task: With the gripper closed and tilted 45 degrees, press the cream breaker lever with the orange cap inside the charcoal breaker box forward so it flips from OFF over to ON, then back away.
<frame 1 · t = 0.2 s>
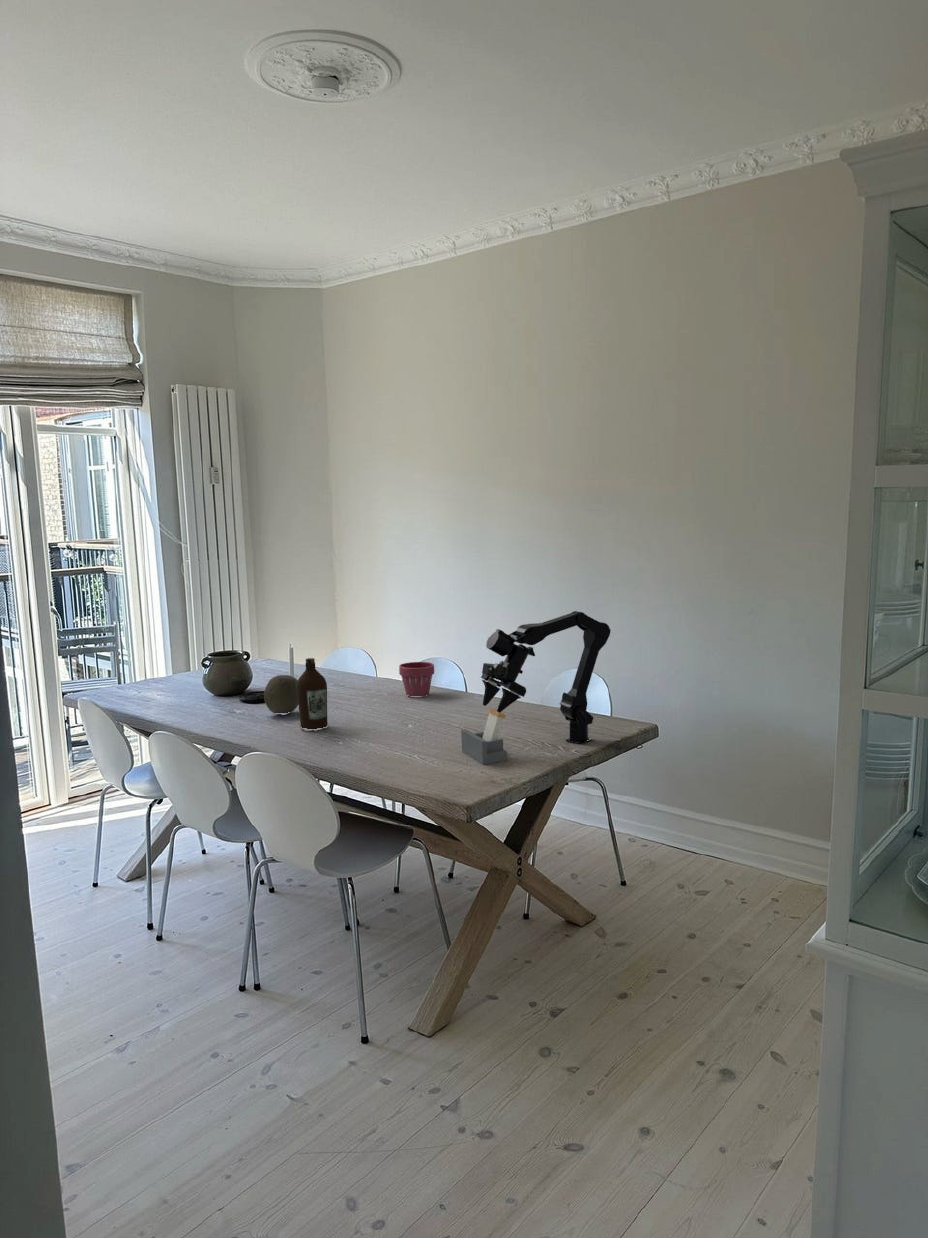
hand: (491, 708, 265), 15 cm above the table, tool tilted 30°, fingers open, 9 cm apart
breaker box: (488, 755, 267), on the table
breaker lever: (493, 727, 267), point 9 cm above the table, hinge at -20.0°
cantaloupe: (284, 714, 331), on the table
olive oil: (314, 728, 308), on the table
plant pot: (418, 696, 354), on the table
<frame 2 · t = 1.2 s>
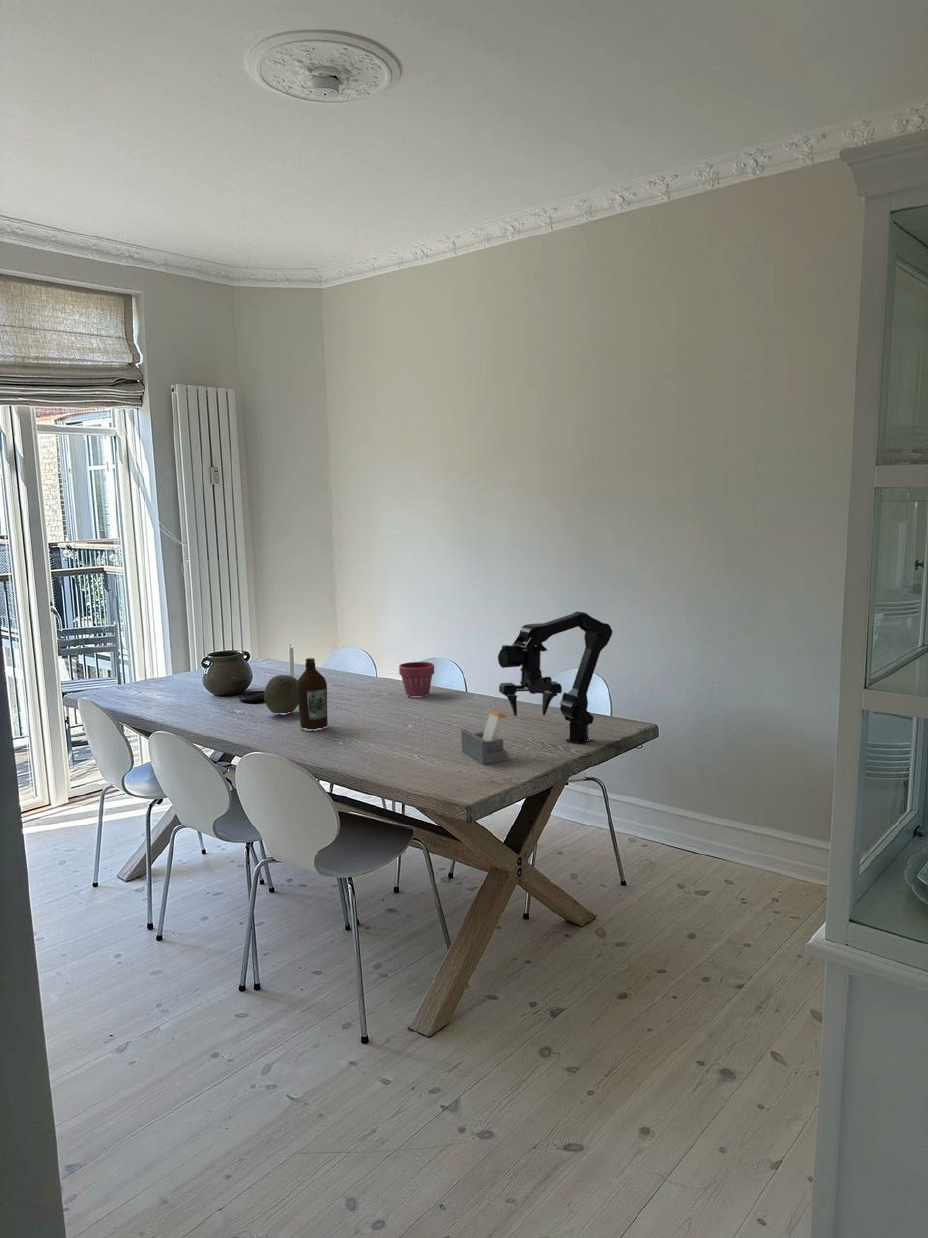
hand: (529, 715, 270), 11 cm above the table, tool pointing down, fingers open, 9 cm apart
breaker lever: (493, 727, 267), point 9 cm above the table, hinge at -21.0°
everything else where it was.
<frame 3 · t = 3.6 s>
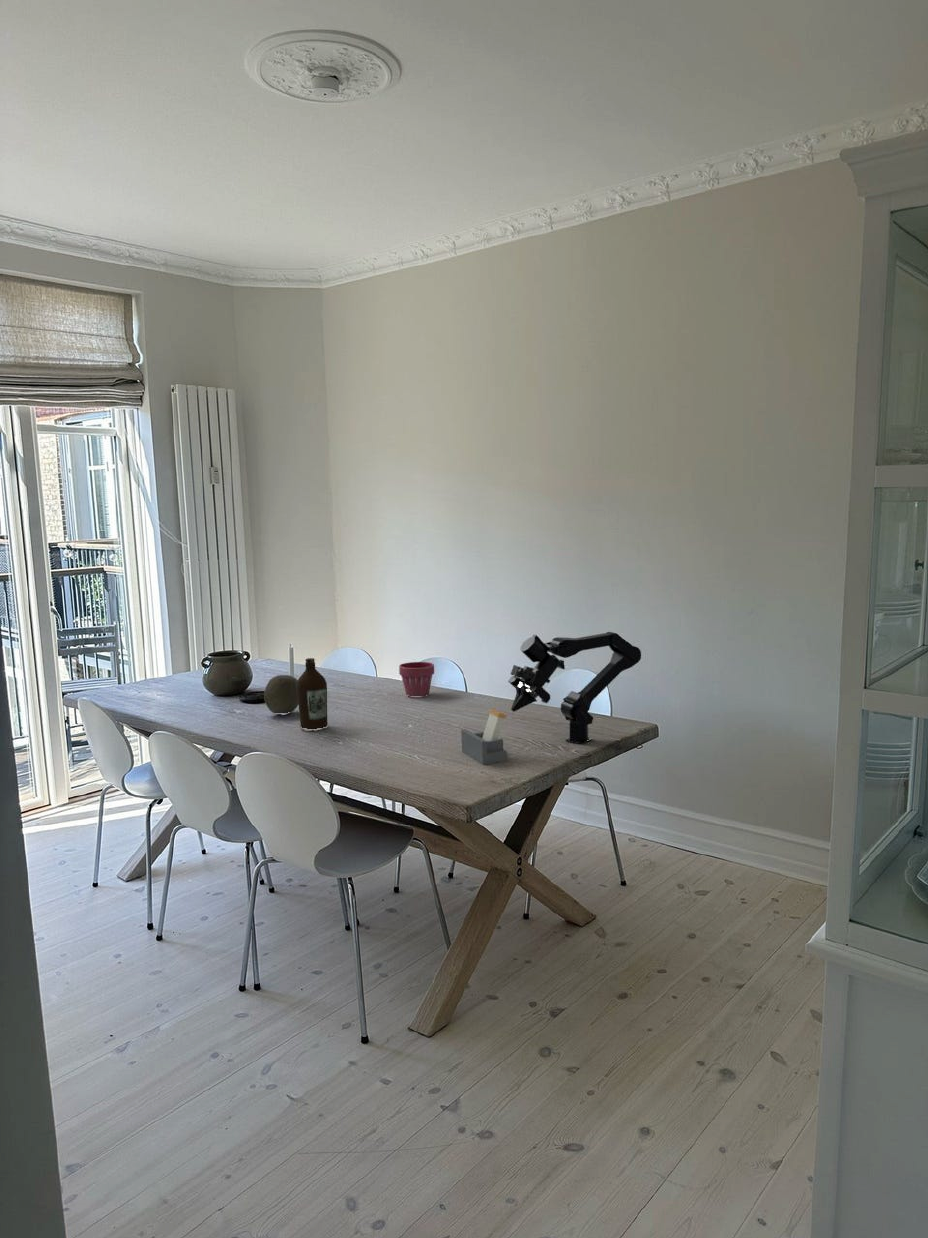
hand: (512, 710, 269), 13 cm above the table, tool tilted 45°, fingers closed
nothing on the table moved.
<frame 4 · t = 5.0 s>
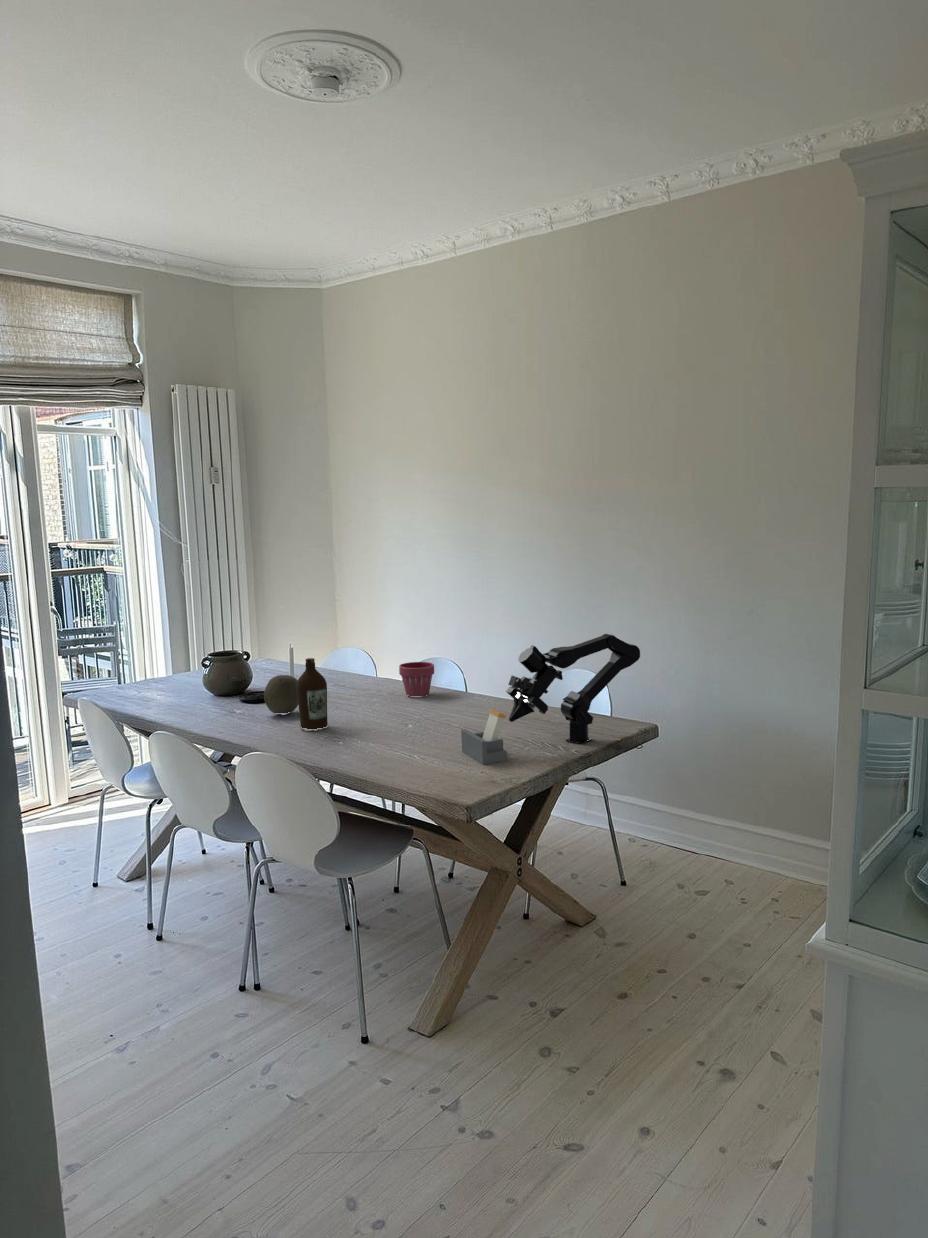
hand: (510, 721, 269), 10 cm above the table, tool tilted 45°, fingers closed
nothing on the table moved.
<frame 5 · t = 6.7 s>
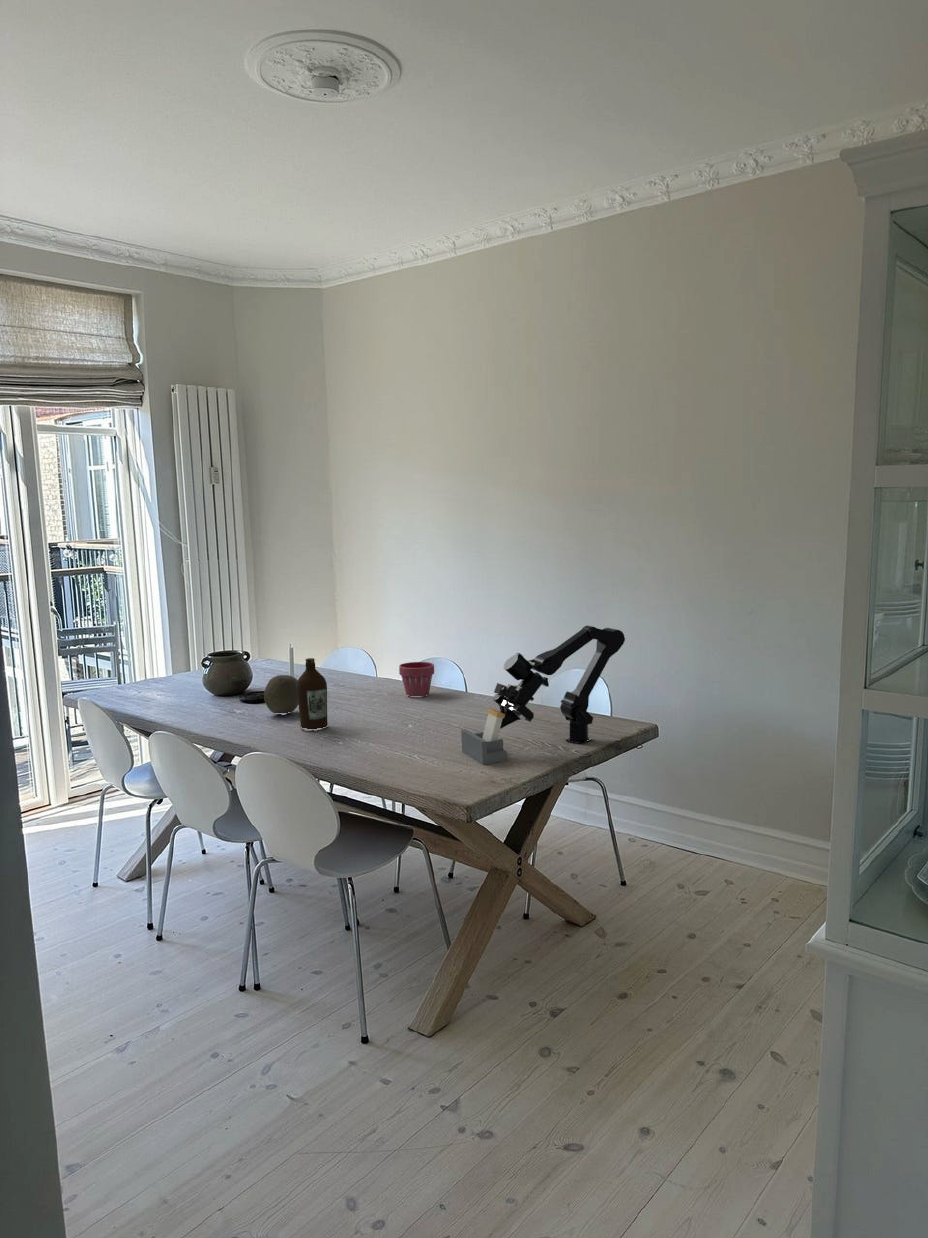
hand: (496, 729, 267), 8 cm above the table, tool tilted 45°, fingers closed, pressing on breaker lever
breaker lever: (492, 727, 267), point 9 cm above the table, hinge at -18.4°, touching gripper
everything else where it was.
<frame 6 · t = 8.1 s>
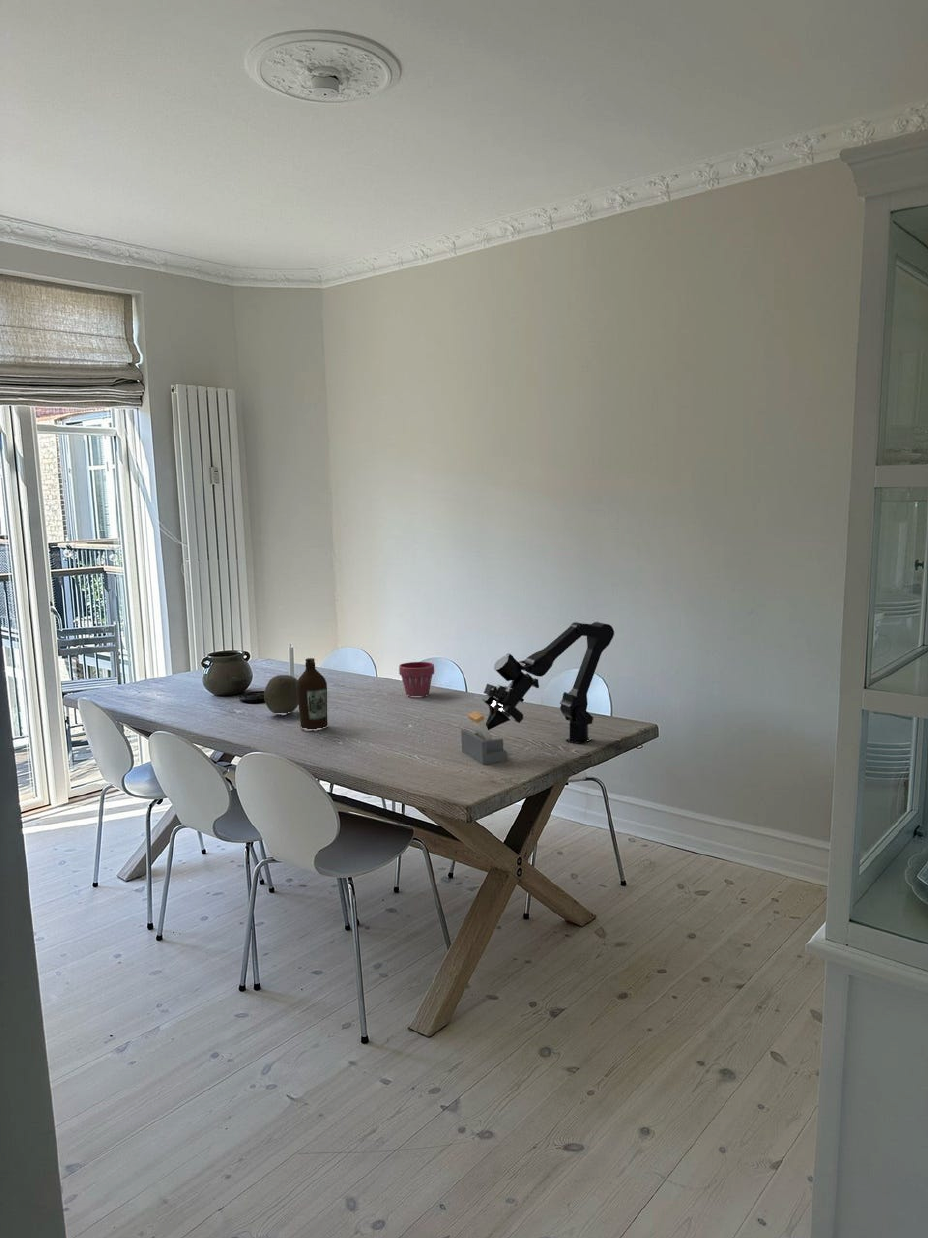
hand: (485, 729, 266), 8 cm above the table, tool tilted 45°, fingers closed, pressing on breaker lever
breaker lever: (481, 729, 265), point 9 cm above the table, hinge at 22.4°, touching gripper
everything else where it was.
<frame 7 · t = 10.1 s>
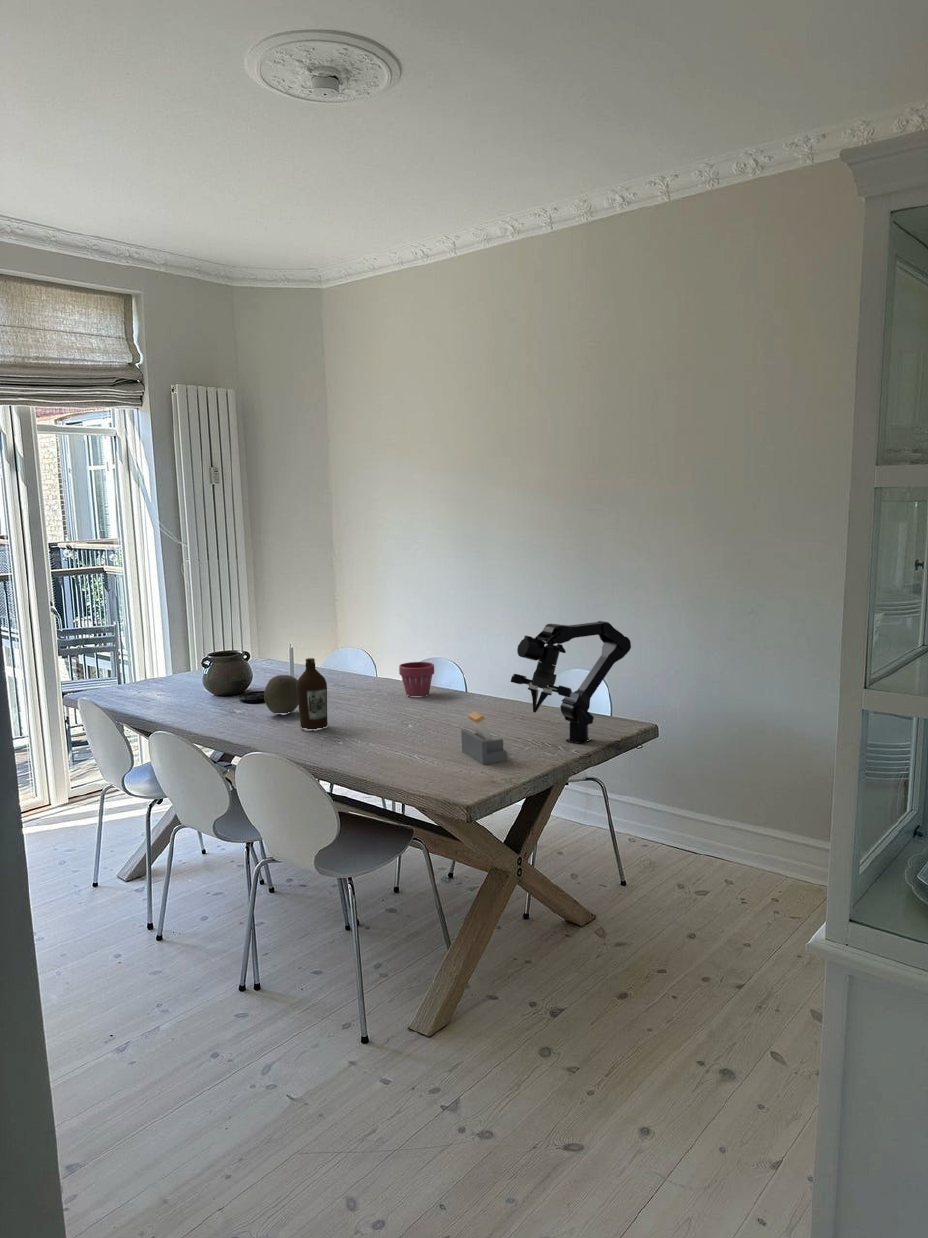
hand: (534, 712, 270), 12 cm above the table, tool tilted 20°, fingers closed
breaker lever: (481, 729, 265), point 9 cm above the table, hinge at 22.5°
everything else where it was.
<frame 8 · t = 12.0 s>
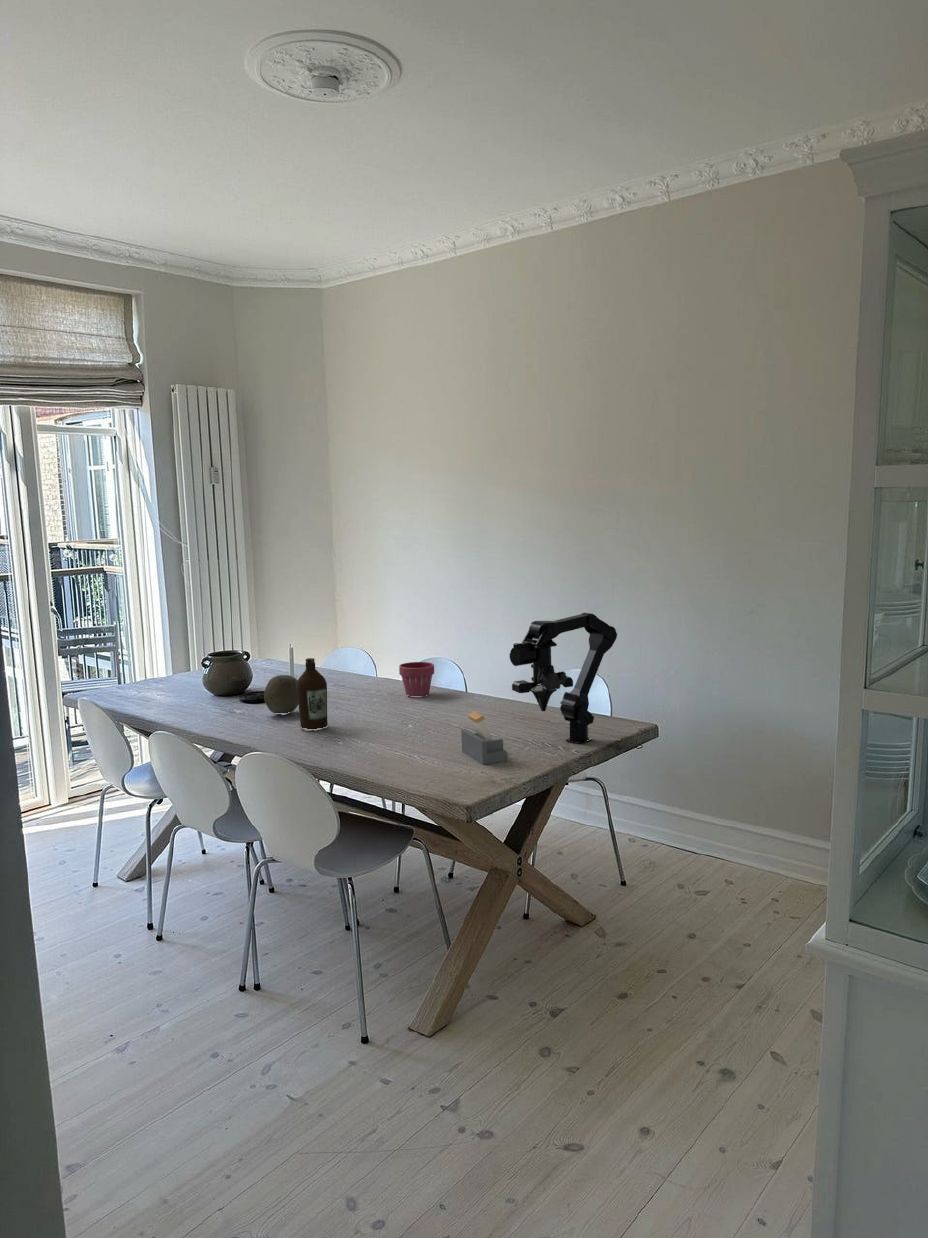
hand: (543, 711, 270), 12 cm above the table, tool pointing down, fingers closed
nothing on the table moved.
at the end: breaker lever at +22° (first picture: -20°) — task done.
